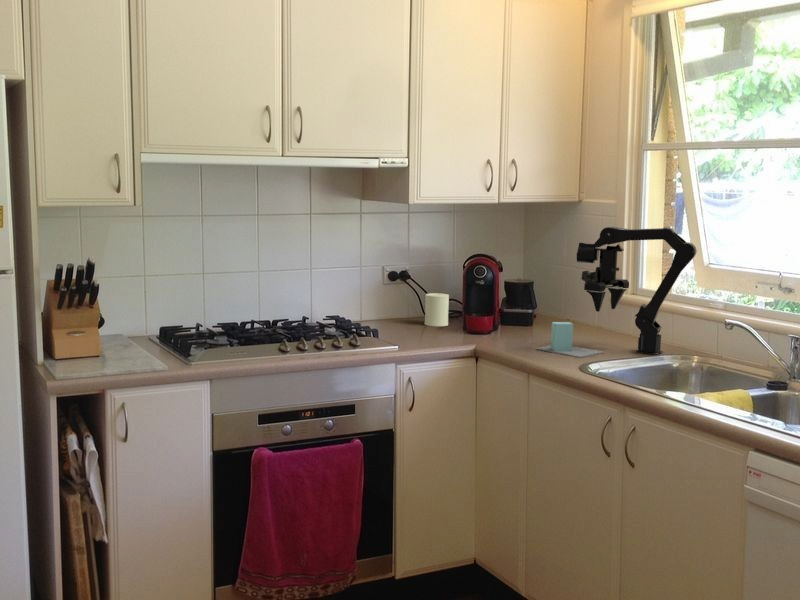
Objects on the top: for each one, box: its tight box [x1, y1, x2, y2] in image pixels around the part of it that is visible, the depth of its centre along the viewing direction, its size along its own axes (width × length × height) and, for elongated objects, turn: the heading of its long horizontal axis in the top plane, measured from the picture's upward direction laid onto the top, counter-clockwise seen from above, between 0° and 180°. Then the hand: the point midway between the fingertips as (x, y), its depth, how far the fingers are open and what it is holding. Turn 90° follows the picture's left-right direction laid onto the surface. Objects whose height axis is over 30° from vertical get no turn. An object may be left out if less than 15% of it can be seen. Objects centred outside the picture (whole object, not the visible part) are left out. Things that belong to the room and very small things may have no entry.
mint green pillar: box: [550, 321, 574, 351], centre depth 301 cm, size 4×6×9 cm, turn 100°
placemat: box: [535, 344, 604, 359], centre depth 301 cm, size 18×13×1 cm
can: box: [424, 292, 450, 327], centre depth 348 cm, size 9×9×12 cm
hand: (605, 310), depth 306 cm, fingers open, 9 cm apart
